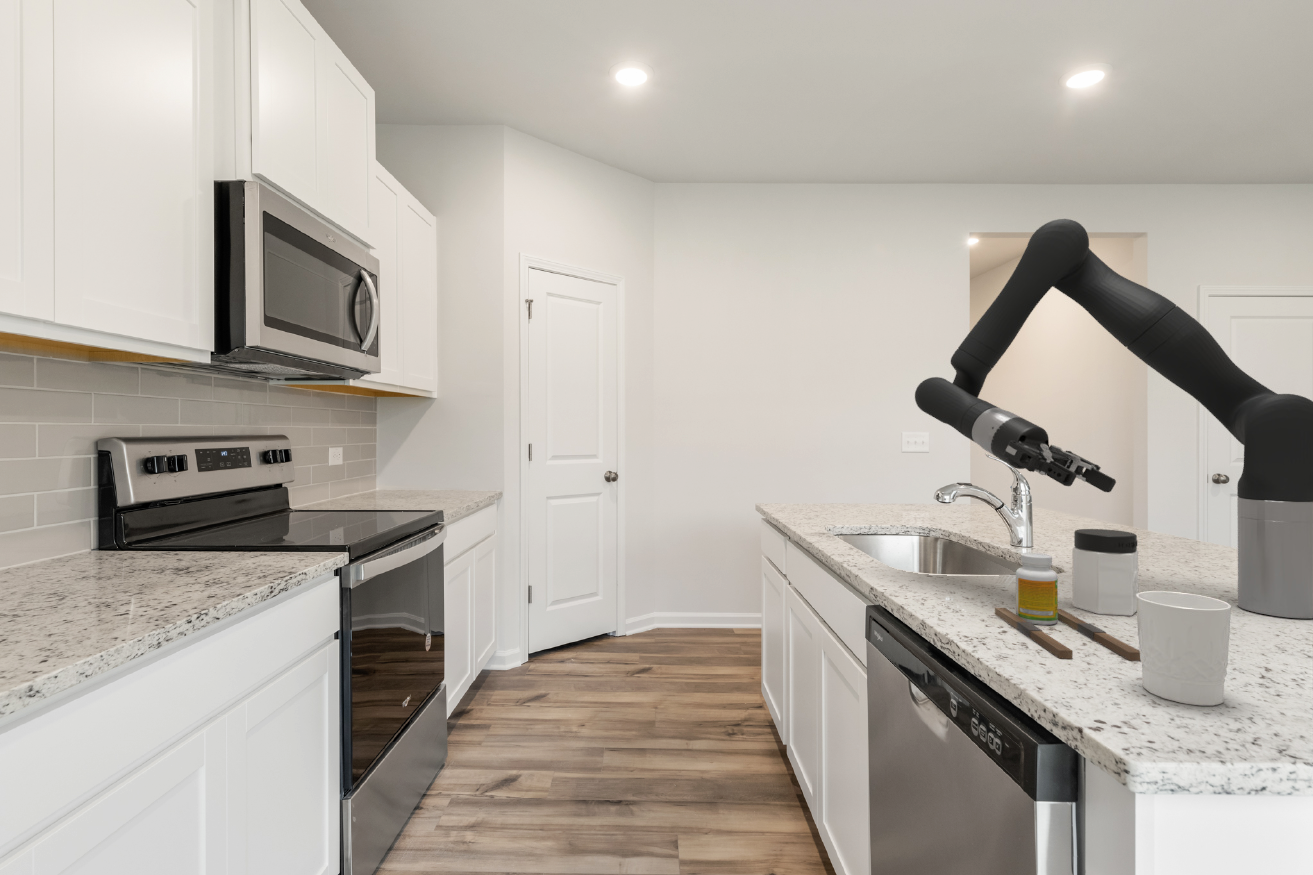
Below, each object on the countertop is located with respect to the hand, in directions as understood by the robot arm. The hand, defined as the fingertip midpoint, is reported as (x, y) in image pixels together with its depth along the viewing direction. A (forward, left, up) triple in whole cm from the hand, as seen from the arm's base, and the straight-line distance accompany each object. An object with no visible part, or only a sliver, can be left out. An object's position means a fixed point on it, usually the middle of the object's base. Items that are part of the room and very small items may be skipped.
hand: (1092, 483), depth 96 cm
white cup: (+17, +21, -21) cm, 34 cm away
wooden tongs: (+10, +2, -20) cm, 22 cm away
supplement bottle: (+6, -4, -21) cm, 22 cm away
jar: (-9, -4, -21) cm, 23 cm away
